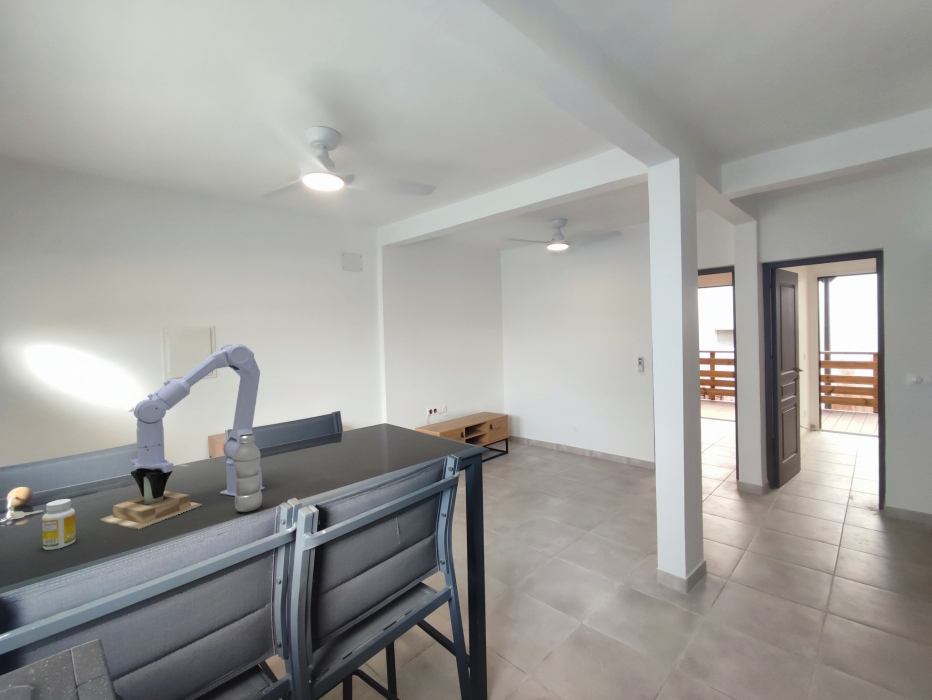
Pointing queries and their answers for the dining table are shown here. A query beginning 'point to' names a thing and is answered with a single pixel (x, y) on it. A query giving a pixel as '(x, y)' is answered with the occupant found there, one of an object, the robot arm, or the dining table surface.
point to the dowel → (149, 493)
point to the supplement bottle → (58, 525)
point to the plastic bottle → (247, 474)
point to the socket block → (149, 510)
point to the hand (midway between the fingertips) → (152, 496)
